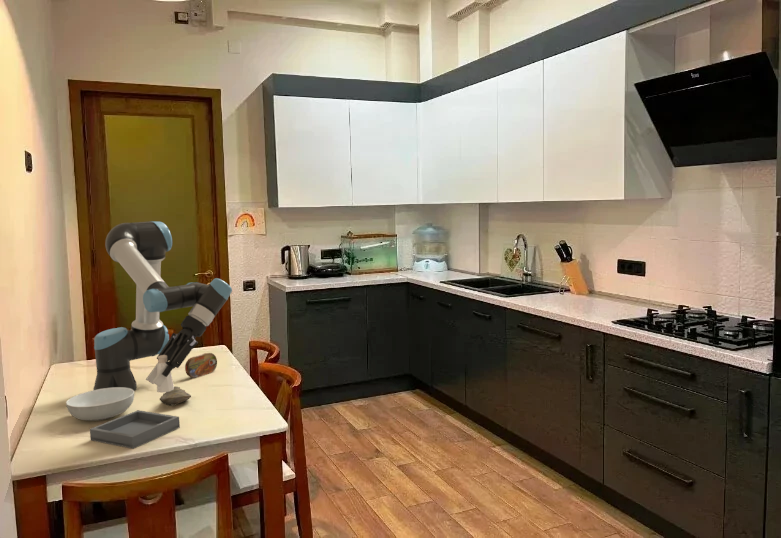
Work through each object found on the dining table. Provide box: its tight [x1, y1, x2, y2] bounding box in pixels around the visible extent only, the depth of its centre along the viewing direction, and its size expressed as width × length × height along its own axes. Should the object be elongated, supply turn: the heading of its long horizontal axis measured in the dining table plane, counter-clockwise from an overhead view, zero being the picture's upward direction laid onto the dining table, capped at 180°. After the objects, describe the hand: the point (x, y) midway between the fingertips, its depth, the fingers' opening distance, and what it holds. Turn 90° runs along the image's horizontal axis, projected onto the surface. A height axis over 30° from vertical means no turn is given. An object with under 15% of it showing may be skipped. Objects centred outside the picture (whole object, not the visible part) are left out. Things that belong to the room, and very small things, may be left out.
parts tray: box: [89, 409, 181, 450], centre depth 192 cm, size 18×18×4 cm
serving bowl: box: [65, 387, 135, 422], centre depth 210 cm, size 21×21×7 cm
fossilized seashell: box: [159, 386, 192, 406], centre depth 220 cm, size 11×10×7 cm
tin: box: [184, 352, 218, 379], centre depth 257 cm, size 15×3×8 cm, turn 148°
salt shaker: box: [156, 355, 175, 393], centre depth 196 cm, size 5×5×11 cm
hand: (152, 382), depth 194 cm, fingers closed on salt shaker, 4 cm apart
